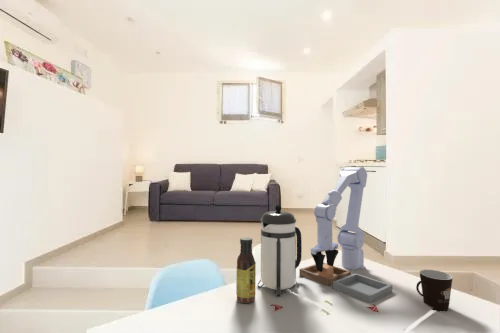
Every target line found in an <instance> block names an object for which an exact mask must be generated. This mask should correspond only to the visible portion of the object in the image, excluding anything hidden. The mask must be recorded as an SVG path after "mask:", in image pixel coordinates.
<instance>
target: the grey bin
mask: <svg viewBox="0 0 500 333" xmlns="http://www.w3.org/2000/svg"><path fill="white" fill-rule="evenodd" d="M332 289H335V290H337V291H339V292H342V293H343V294H346V295H349V296H351V297H354V298H357V299H358V300H360V301H361V300H362V301H364V302H366V303H369V304H371V303H373V302H375V301H377V300H379V299H382V298H383V297H385V296H387V295H389V294H391V293H392V292H393V285H392V284H389V283H386V282H383V281H380V280H377V279H374V278H371V277H368V276H366V275H364V274H363V275H362V274H359V273H356V272H355V273H351V275H350V276H347V277H344V278H342V279H339V280H336V281H334V282H333V285H332Z"/></svg>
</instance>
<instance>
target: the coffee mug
mask: <svg viewBox="0 0 500 333" xmlns="http://www.w3.org/2000/svg"><path fill="white" fill-rule="evenodd" d="M419 279H420V280H419V281H418V282H417V283H416V291H417V293H418V294H419V295H420V296H421V297H422V299H423V300H422V301H423V303H424V304H425V305H426V306H428V307H431V310H432V311H435V310H436V311H435V312H440V311H442V312H443V311H445V312H448V311H449V306H450V300H451V292H452V284H453V275H451V274H450V273H447V272H444V271H441V270H436V269H421V270H419ZM420 286H421V291H420V289H419V287H420Z"/></svg>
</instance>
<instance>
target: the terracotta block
mask: <svg viewBox="0 0 500 333" xmlns="http://www.w3.org/2000/svg"><path fill="white" fill-rule="evenodd" d="M333 266H334V265H333ZM333 266H330V265H327V263H326V264H323V270H322V272H320V271H319V275H320V276H322V277H325V278H331V277H333Z"/></svg>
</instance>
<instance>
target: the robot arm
mask: <svg viewBox="0 0 500 333" xmlns="http://www.w3.org/2000/svg"><path fill="white" fill-rule="evenodd" d="M367 180H368V172H367V170H366V168H365V167H363V166H358V167H353V166H352V167H347V166H346V167H345V166H343V167H342V168H341V169H340V171H339V179H338V180H337V183H336V184H335V186H334V188H333V190H329V191H328V193H327V194H326V196H325V197H324V199H322V202H321V203H320V204H319V203H318V204H317V205H316V206H315V209H314V210H313V214H314V216H315V220H316V221H315V222H316V223H317V225H316V226H317V227H316V228H317V231H316V232H317V234H316V235H317V240H316V241H317V244H316V245H315V246H313V247H311V248H310V254H311V257H312V258H313V261H314V265H315V264H316V268H317V271H320V272H322V270H323V263H325V258H326V264H327V265H330V266H335V261H336V259H337V255H338V254H339V250H338V249H339V247H340V248H341V264H340V265H338V267H340V266H341V267H343V269H346V270H358V269H366V266H365V264H364V260H365V258H364V257H365V255H364V251H363V249H362V248H363V246H364V244H365V237H364V231H363V229H361V227H359V222H360V216H361V210H362V209H361V208H362V202H363V195H364V188H365V187H366V186H367ZM347 187H349V189H350V191H349V192H350V194H349V201H348V206H347V214H346V220H345V224H343V225H341V226H339V227H340V228H339V231H338V234H337V236H336V239H337V242H338V243H337V242H333V220H334V219H335V217H336V212H337V210H338V209H337V208H338V206H339V204H340V203H341V201H342V198H343V197H342V194H343V192H344V191H345V190H346V189H347ZM323 252H324V253H325V254H323Z"/></svg>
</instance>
